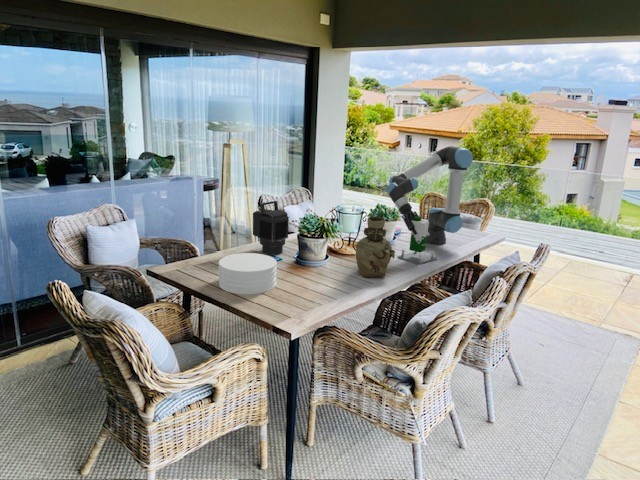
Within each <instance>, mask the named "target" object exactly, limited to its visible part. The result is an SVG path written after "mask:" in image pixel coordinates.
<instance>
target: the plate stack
mask: <svg viewBox="0 0 640 480" xmlns="http://www.w3.org/2000/svg"><path fill="white" fill-rule="evenodd" d="M277 265H278V262H277V259H275V258H274V257H272V256H271V255H267V254H264V253H263V254H262V253H255V252H254V253H253V252H242V253H233V254H229V255H226V256H223V257H222V258H220V259H219V261H218V286H219V288H221V290H223V291H226V292H228V293H232V294H237V295H258V294H262V293H263V294H264V293H266V292H269V291H272V290H273V289H275V287H276V286H277V274H278V273H277V269H278V268H277Z"/></svg>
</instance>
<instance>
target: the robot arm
mask: <svg viewBox="0 0 640 480" xmlns="http://www.w3.org/2000/svg"><path fill="white" fill-rule="evenodd" d="M473 159H474V158H473V154H472V152H471V151H470V150H469V149H467V148H464V147H461V146H460V147H459V146H453V145H451V146H450V145H449V146H446V147H444V148H441V149H439V150H438V151H436V152H434V153H432V155H431V156H430V157H428V158H427V159H425V160H423V161H421V162H420V163H418V164H417V165H414V166H412V167H410V168H409V169H408V170H405V171H403V172H402V173H400V174H399V175H392V176H390V178H389V180H388V183H389V184H388V185H387V186H386V187H385V192H386V193H387V195H388V196H389V198H390V200H391V201H392V203H393V204H394V206H395V207H396V208H397V209H398V212H399V213H400V214H401V219H402V220H403V222H404V223H405V225H406V228H407V229H408V231H410V232H411V231H412V232H413V233H414V235H415V236H416V238H417V239H418V240H419V239H420V238H422V237H421V235H420V234H419V232H418V231H417V229H416V228H415V227H414V225H413V223H412V221H413V220H414V217H415V216H419V214H418V213H417V212H416V211H415V210H414V212H413V210H412V208H413V207H412V206H411V204H410V203H409V201H408V199H407V197H406V196H405V195H407V194H409V193H411V192H414V191H415V190H416V189H418V188H419V182H418V178H420V177H422V176H424V175H425V174H427V173H428V172H430V171H432V170H434V169H436V168H441V167H443V166H445V165H448V167H447V169H448V171H449V176H448V184H447V185H448V186H447V192H446V200H445V206H444V208H443V207H433V208H432V207H431V208H430V209H429V210H428V211H429V212H428V219H427V221H429V226H428V232H427V241H426V244H427V243H428V244H433V245H444V244H446V243H447V237H446V232H447V233H451V234H454V233H457V232H459V231H460V230H461V229H462V227H463V223H464V222H463V221H464V220H463V219H462V217H461V211H460V210H459V209H460V202H461V195H462V190H463V189H462V188H463V184H464V183H463V182H464V175H465V172H467V171H468V167H470V166H471V164H472V163H473ZM421 220H423V219H422V218H421ZM414 228H415V229H414Z"/></svg>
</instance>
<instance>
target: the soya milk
mask: <svg viewBox="0 0 640 480" xmlns="http://www.w3.org/2000/svg"><path fill="white" fill-rule="evenodd" d="M421 219H422V216H420V215H418V216H415V217H414V220H413V221H412V223H413V225H414V227H415V228H416V229H417V231H418V232H419V234H420V235H421V237H422V238H420V239H419V240H418V239H417V238H416V236H415V235H414V233H413V232H412V231H410V232H411V233H410V243H409V249H408V250H409V251H411V252H415V251H416V252H420V253H423V252H425V251H426V247H427V242H426V241H427V232H428V226H429V221H428V220H425V219H422V220H421ZM415 228H414V229H415Z"/></svg>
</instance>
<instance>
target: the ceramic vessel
mask: <svg viewBox="0 0 640 480" xmlns="http://www.w3.org/2000/svg"><path fill="white" fill-rule="evenodd" d="M366 221H367V227H365V228H364V229H363V235H364V237H363V238H361V239H359V240H358V242H357V243H356V246H355V258H356V259H355V261H356V265H357V269H358V273H359V275H361V277H363V278H377V279H380V278H384V277H385V276H386V274H387V269H388V265H389V264H390V261H391V259H393V260H394V259H395V258H396V257H395V256H396V254H395V253H396V251H395V249H393V247H392V244H391V243H390V241H388V240H387V238H385V237H386V236H387V235H386V234H387V230H386V229H384V227H385V223H386V219H385V218H383V217H380V216H379V217H378V216H369V217H367V219H366Z"/></svg>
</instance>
